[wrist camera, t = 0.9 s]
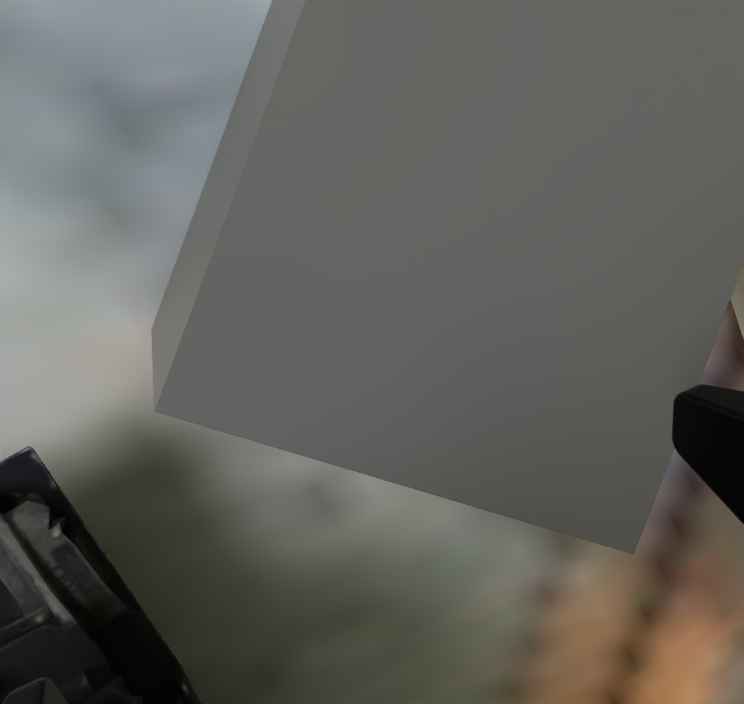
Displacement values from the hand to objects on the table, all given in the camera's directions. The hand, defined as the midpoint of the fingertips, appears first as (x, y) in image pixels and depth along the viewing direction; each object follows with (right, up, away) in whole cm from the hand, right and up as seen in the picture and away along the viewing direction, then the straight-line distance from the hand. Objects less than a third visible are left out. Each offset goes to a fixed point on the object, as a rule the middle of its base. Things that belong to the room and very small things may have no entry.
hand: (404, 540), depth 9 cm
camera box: (0, +11, +13) cm, 18 cm away
